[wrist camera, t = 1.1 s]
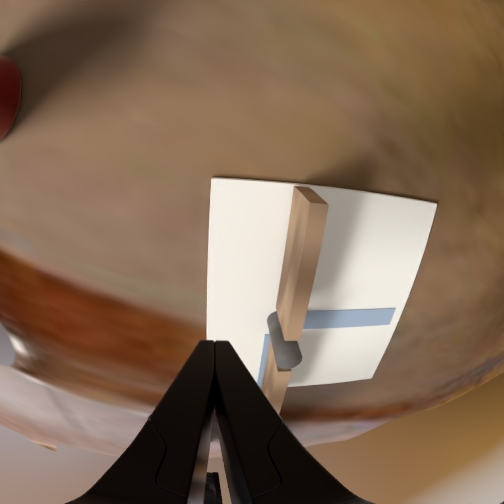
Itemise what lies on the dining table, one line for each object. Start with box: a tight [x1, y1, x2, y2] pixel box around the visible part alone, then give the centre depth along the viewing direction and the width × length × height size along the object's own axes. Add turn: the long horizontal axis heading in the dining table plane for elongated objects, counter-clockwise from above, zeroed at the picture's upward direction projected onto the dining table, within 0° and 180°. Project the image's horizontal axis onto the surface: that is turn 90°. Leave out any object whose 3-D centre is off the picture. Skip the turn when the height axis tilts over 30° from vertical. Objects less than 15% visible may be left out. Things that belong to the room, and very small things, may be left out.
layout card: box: [207, 177, 437, 388], centre depth 23 cm, size 19×17×1 cm
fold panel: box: [276, 186, 329, 341], centre depth 18 cm, size 9×1×4 cm, turn 175°
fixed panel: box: [261, 311, 302, 414], centre depth 23 cm, size 9×2×5 cm, turn 175°
